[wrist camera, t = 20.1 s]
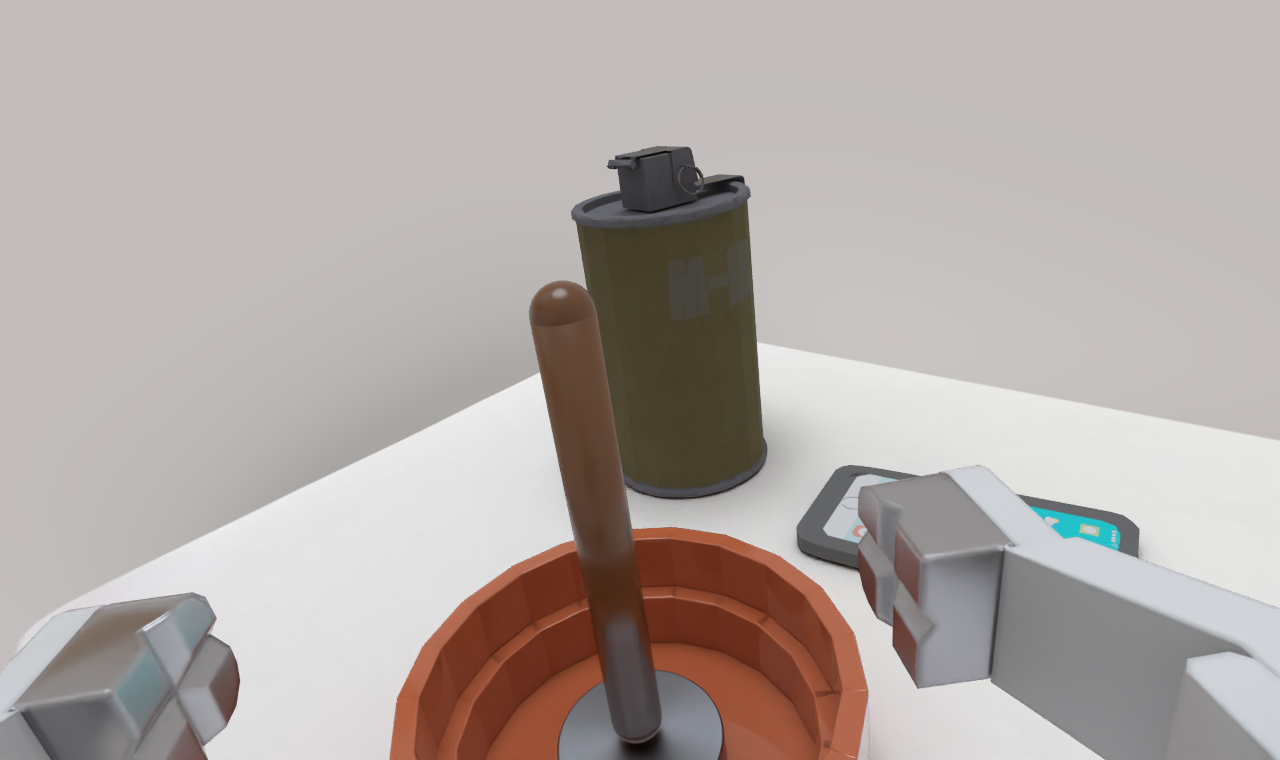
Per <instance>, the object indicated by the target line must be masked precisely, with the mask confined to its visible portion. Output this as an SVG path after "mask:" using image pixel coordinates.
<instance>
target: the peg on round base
mask: <svg viewBox="0 0 1280 760" xmlns="http://www.w3.org/2000/svg"><path fill="white" fill-rule="evenodd" d="M529 318H530V324H531V329H532V334H533V339H534V344H535V349H536V354H537V359H538V363H539V369H540V373H541V378H542V383H543V388H544V393H545V398H546V403H547V408H548V413H549V418H550V423H551V427H552V432H553V437H554V442H555V447H556V452H557V457H558V462H559V467H560V472H561V476H562V481H563V486H564V491H565V496H566V501H567V506H568V511H569V516H570V521H571V526H572V530H573V535H574V540H575V545H576V550H577V555H578V560H579V565H580V570H581V575H582V580H583V584H584V589H585V594H586V599H587V604H588V609H589V614H590V619H591V624H592V629H593V633H594V638H595V643H596V648H597V653H598V658H599V663H600V668H601V673H602V678H603V681H602V682H600V683H599V684H597V685H596V686H594V687H593V688H591V689H590V690H589V691H587V692H586V693H585V694H584V695H583V696H582V697H581V698H580V699H579V700H578V701H577V702H576V703H575V705H574V706H573V707H572V708H571V710H570V712H569V713H568V715H567V716H566V718H565V720H564V723H563V725H562V728H561V731H560V734H559V739H558V746H557V756H558V760H727V752H726V743H725V735H724V727H723V722H722V718H721V715H720V712H719V710H718V708H717V706H716V704H715V703H714V701H713V700H712V698H711V697H710V696H709V695H708V693H707V692H706V691H705V690H703V689H702V688H701V687H700V686H699V685H697V684H696V683H695V682H693V681H691V680H690V679H688V678H686V677H684V676H681V675H679V674H676V673H672V672H669V671H663V670H655V667H654V661H653V655H652V649H651V643H650V637H649V631H648V624H647V618H646V612H645V606H644V600H643V594H642V588H641V581H640V575H639V569H638V563H637V557H636V551H635V545H634V538H633V532H632V526H631V520H630V514H629V508H628V502H627V495H626V489H625V483H624V477H623V471H622V465H621V459H620V452H619V446H618V440H617V434H616V428H615V422H614V416H613V410H612V403H611V397H610V391H609V385H608V379H607V373H606V367H605V360H604V354H603V348H602V342H601V336H600V330H599V324H598V317H597V311H596V307H595V303H594V301H593V299H592V297H591V295H590V294H589V293H588V292H587V290H585V289H584V288H583V287H582V286H580V285H578V284H576V283H574V282H570V281H555V282H551V283H549V284H547V285H545V286H544V287H542V288H541V289H540V290H539V291H538V292H537V293H536V294H535V296H534V298H533V299H532V302H531V305H530V310H529Z"/></svg>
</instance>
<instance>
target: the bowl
mask: <svg viewBox="0 0 1280 760" xmlns="http://www.w3.org/2000/svg"><path fill="white" fill-rule="evenodd" d="M632 532H633V538H634V545H635V551H636V557H637V563H638V569H639V575H640V581H641V588H642V594H643V600H644V606H645V612H646V618H647V624H648V631H649V637H650V643H651V649H652V655H653V661H654V667H655V670H663V671H669V672H672V673H676V674H679V675H681V676H684V677H686V678H688V679H690V680H691V681H693V682H695V683H696V684H697V685H699V686H700V687H701V688H702V689H703V690H705V691H706V692H707V693H708V695H709V696H710V697H711V698H712V700H713V701H714V703H715V704H716V706H717V708H718V710H719V712H720V715H721V718H722V722H723V727H724V735H725V743H726V752H727V760H869V691H868V687H867V683H866V678H865V674H864V670H863V666H862V662H861V658H860V654H859V649H858V645H857V641H856V637H855V635H854V632H853V631H852V629H851V628H850V626H849V625H848V624H847V622H846V621H845V619H844V618H843V617H842V615H841V614H840V612H839V611H838V609H837V608H836V607H835V605H834V604H833V602H832V601H831V599H830V598H829V597H828V595H827V594H826V592H825V591H824V590H823V588H821V586H819V585H818V584H817V583H815V582H814V581H813V580H811V579H810V578H809V577H807V576H806V575H805V574H803V573H802V572H801V571H799V570H798V569H796V568H795V567H794V566H792V565H791V564H790V563H788V562H787V561H786V560H784V559H783V558H782V557H780V556H777V555H776V554H773V553H771V552H768V551H766V550H763V549H761V548H758V547H756V546H753V545H750V544H748V543H745V542H743V541H740V540H738V539H735V538H732V537H730V536H727V535H723V534H716V533H710V532H703V531H696V530H689V529H683V528H676V527H674V528H673V527H668V528H648V529H632ZM602 681H603V678H602V673H601V668H600V663H599V658H598V653H597V648H596V643H595V638H594V633H593V629H592V624H591V619H590V614H589V609H588V604H587V599H586V594H585V589H584V584H583V580H582V575H581V570H580V565H579V560H578V555H577V550H576V545H575V540H574V541H570V542H566V543H564V544H560V545H558V546H556V547H553V548H551V549H549V550H547V551H545V552H542V553H540V554H538V555H536V556H533V557H531V558H529V559H527V560H525V561H522V562H520V563H518V564H516V565H513V566H511V568H509V569H508V570H506V571H505V572H503V573H502V574H500V575H499V576H498V577H496V578H495V579H493V580H492V581H491V582H489V583H488V584H486V585H485V586H484V587H482V588H481V589H479V590H478V591H477V592H475V593H474V594H472V595H471V596H470V597H468V598H467V599H465V600H464V602H462V603H461V604H460V605H459V606H458V607H457V608H456V609H455V611H454V612H453V613H452V614H451V615H450V616H449V617H448V618H447V619H446V621H445V622H444V623H443V624H442V625H441V626H440V627H439V628H438V630H437V631H436V632H435V633H434V634H433V635H432V636H431V637H430V639H429V640H428V641H427V642H426V643H425V644H424V646H423V647H422V649H421V651H420V653H419V655H418V657H417V659H416V661H415V663H414V665H413V667H412V669H411V671H410V673H409V675H408V677H407V679H406V681H405V683H404V685H403V687H402V689H401V691H400V693H399V695H398V697H397V702H396V709H395V718H394V726H393V734H392V742H391V751H390V759H389V760H558V756H557V746H558V739H559V734H560V731H561V728H562V725H563V723H564V720H565V718H566V716H567V715H568V713H569V712H570V710H571V708H572V707H573V706H574V705H575V703H576V702H577V701H578V700H579V699H580V698H581V697H582V696H583V695H584V694H585V693H586V692H587V691H589V690H590V689H591V688H593V687H594V686H596V685H597V684H599V683H600V682H602Z"/></svg>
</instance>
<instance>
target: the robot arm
mask: <svg viewBox="0 0 1280 760" xmlns="http://www.w3.org/2000/svg"><path fill="white" fill-rule="evenodd" d="M858 516H859V518H860V519H861V521H862V522H863V524H864V525H865V527H866V529H867V532H866V533H865V535H864V536H863V537H862V539H861V540H860V542H859V543H858V567H859V572H860V576H861V581H862V586H863V589H864V592H865V595H866V597H867V600H868V602H869V604H870V606H871V608H872V610H873V612H874V613H875V615H876V617H877V619H879V620H881V621H883V622H885V623H886V624H888V625H890V626H892V627H893V647H894V649H895V650H896V652H897V654H898V656H899V657H900V659H901V661H902V662H903V664H904V666H905V668H906V669H907V671H908V673H909V674H910V676H911V678H912V680H913V681H914V683H915V685H916V686H917V688H925V687H932V686H939V685H946V684H953V683H961V682H968V681H975V680H982V679H989V678H991V682H992V683H993V684H995V685H996V686H998V687H999V688H1001V689H1002V690H1004V691H1005V692H1007V693H1008V694H1010V695H1011V696H1013V697H1014V698H1015V699H1017V700H1018V701H1020V702H1021V703H1023V704H1024V705H1026V706H1027V707H1029V708H1030V709H1032V710H1033V711H1035V712H1036V713H1038V714H1039V715H1040V716H1042V717H1043V718H1045V719H1046V720H1048V721H1049V722H1051V723H1052V724H1054V725H1055V726H1057V727H1058V728H1060V729H1061V730H1063V731H1064V732H1066V733H1067V734H1068V735H1070V736H1071V737H1073V738H1074V739H1076V740H1077V741H1079V742H1080V743H1082V744H1083V745H1085V746H1086V747H1088V748H1089V749H1091V750H1092V751H1093V752H1095V753H1096V754H1098V755H1099V756H1101V757H1102V758H1104V759H1105V760H1280V608H1277V607H1274V606H1271V605H1268V604H1266V603H1263V602H1260V601H1257V600H1254V599H1252V598H1249V597H1246V596H1243V595H1240V594H1237V593H1235V592H1232V591H1229V590H1226V589H1223V588H1221V587H1218V586H1215V585H1212V584H1209V583H1206V582H1204V581H1201V580H1198V579H1195V578H1192V577H1189V576H1187V575H1184V574H1181V573H1178V572H1175V571H1173V570H1170V569H1167V568H1164V567H1161V566H1158V565H1156V564H1153V563H1150V562H1147V561H1144V560H1142V559H1139V558H1136V557H1133V556H1130V555H1127V554H1125V553H1122V552H1119V551H1116V550H1113V549H1110V548H1108V547H1105V546H1102V545H1099V544H1096V543H1094V542H1091V541H1088V540H1085V539H1082V538H1079V537H1072V538H1065V539H1064V538H1063V537H1062V536H1061V535H1060V534H1059V533H1057V532H1056V531H1055V530H1054V529H1053V528H1052V527H1051V526H1050V525H1049V524H1048V523H1047V522H1046V521H1044V520H1043V519H1042V518H1041V517H1040V516H1039V515H1038V514H1037V513H1036V512H1035V511H1034V510H1033V509H1031V508H1030V507H1029V506H1028V505H1027V504H1026V503H1025V502H1024V501H1023V500H1022V499H1021V498H1020V497H1018V496H1017V495H1016V494H1015V493H1014V492H1013V491H1012V490H1011V489H1010V488H1009V487H1008V486H1007V485H1005V484H1004V483H1003V482H1002V481H1001V480H1000V479H999V478H998V477H997V476H996V475H995V474H994V473H992V472H991V471H990V470H989V469H988V468H986V467H983V466H980V465H974V466H969V467H963V468H958V469H953V470H948V471H943V472H939V473H937V474H931V475H925V476H920V477H914V478H908V479H902V480H897V481H891V482H885V483H879V484H874V485H868V486H862V487H861V488H860V492H859V496H858ZM216 619H217V618H216V616H215V614H214V612H213V610H212V608H211V607H210V605H209V603H208V601H207V599H206V597H204V596H201V595H198V594H195V593H185V594H178V595H170V596H163V597H156V598H149V599H142V600H134V601H127V602H120V603H113V604H110V605H99V606H93V607H87V608H81V609H74V610H69V611H66V612H64V613H61V614H58V615H56V616H53V617H52V618H51V619H50V620H49V621H48V622H47V623H46V624H45V625H44V626H43V627H42V628H41V629H40V630H39V632H38V633H37V634H36V635H35V636H34V637H33V638H32V639H31V640H30V641H29V642H28V643H27V644H26V645H25V646H24V647H23V648H22V649H21V650H20V651H19V652H18V654H17V655H16V656H15V657H14V658H13V659H12V660H11V661H10V662H9V663H8V664H7V665H6V666H5V667H4V668H3V669H2V670H1V671H0V760H208V758H207V755H206V752H205V749H204V745H206V744H207V743H208V742H209V741H210V740H211V739H213V738H214V737H215V736H216V735H217V734H218V733H220V732H221V731H222V730H223V729H224V728H225V727H226V726H227V724H228V722H229V720H230V718H231V716H232V714H233V712H234V709H235V707H236V704H237V697H238V691H239V685H240V678H239V671H238V665H237V661H236V659H235V657H234V654H233V652H232V650H231V648H230V646H229V645H227V644H225V643H224V642H222V641H221V640H219V639H217V638H216V637H214V636H213V635H211V632H212V629H213V627H214V624H215V621H216Z"/></svg>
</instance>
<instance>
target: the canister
mask: <svg viewBox="0 0 1280 760" xmlns="http://www.w3.org/2000/svg"><path fill="white" fill-rule="evenodd" d="M607 167H608V168H609V169H617V168H618V175H619V183H620V191H616V192H611V193H607V194H603V195H599V196H597V197H594V198H591V199H588V200H585V201H583V202H581V203H579V204H577V205H575V207H574V208H573V209H572V211H571V215H572V219H573V220H575V221H576V224H577V230H578V236H579V242H580V248H581V254H582V261H583V267H584V272H585V278H586V285H587V291H588V293H589V294H590V295H591V297H592V299H593V301H594V303H595V307H596V311H597V317H598V324H599V330H600V336H601V342H602V348H603V354H604V360H605V367H606V373H607V379H608V385H609V391H610V397H611V403H612V410H613V416H614V422H615V428H616V434H617V440H618V446H619V452H620V459H621V465H622V471H623V477H624V483H625V484H626V485H628V486H630V487H632V488H634V489H636V490H638V491H641V492H644V493H647V494H649V495H652V496H660V497H699V496H703V495H708V494H712V493H716V492H720V491H723V490H726V489H730V488H732V487H734V486H736V485H738V484H740V483H742V482H744V481H746V480H747V479H749V478H750V477H751V476H752V475H754V474H755V473H756V472H757V471H758V470H759V469H760V468H761V466H762V465H763V463H764V461H765V459H766V454H767V444H766V441H765V439H764V437H763V429H762V414H761V399H760V384H759V369H758V354H757V339H756V324H755V309H754V294H753V279H752V265H751V250H750V236H749V221H748V205H747V199H748V198H749V197H750V196H751V195H750V189H749V187H748V186H746V185H745V183H744V177H743V176H740V175H720V174H719V175H714V176H710V177H705V178H703V174H702V173H701V171H700V170H699V169H698V168H697V167H696V168H695V164H694V159H693V155H692V150H691V149H690V148H689V147H665V146H663V147H661V146H656V147H651V148H647V149H642V150H641V151H637V152H632V153H627V154H622V155H618V156H615V160H609V163H608V166H607ZM612 167H613V168H612ZM697 173H698V174H699V177H700V178H701V179H698V177H697Z"/></svg>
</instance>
